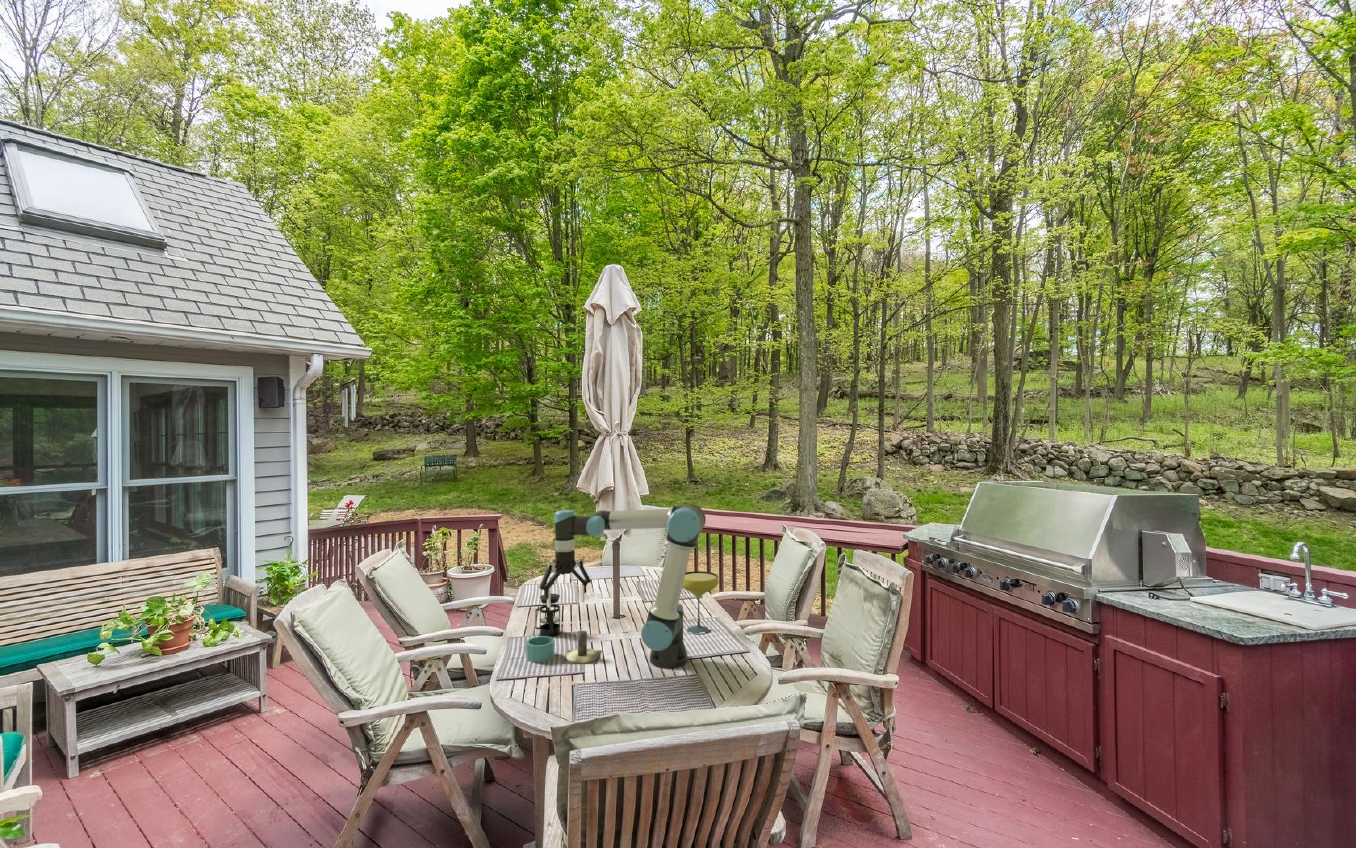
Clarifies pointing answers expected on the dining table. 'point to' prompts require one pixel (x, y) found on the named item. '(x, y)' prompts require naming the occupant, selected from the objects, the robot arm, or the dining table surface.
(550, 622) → the french press
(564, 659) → the mat
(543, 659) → the bowl
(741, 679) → the dining table surface
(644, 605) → the dining table surface
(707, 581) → the cocktail glass
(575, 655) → the lid
